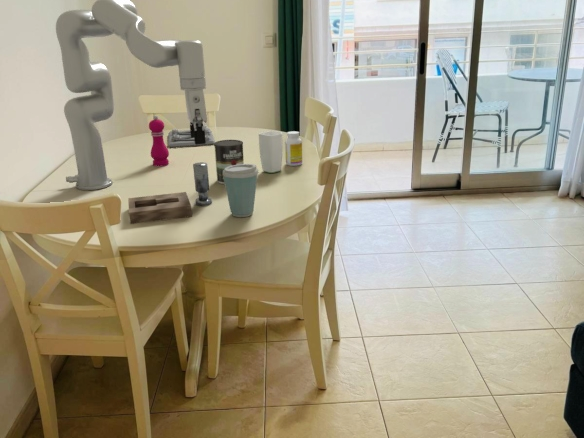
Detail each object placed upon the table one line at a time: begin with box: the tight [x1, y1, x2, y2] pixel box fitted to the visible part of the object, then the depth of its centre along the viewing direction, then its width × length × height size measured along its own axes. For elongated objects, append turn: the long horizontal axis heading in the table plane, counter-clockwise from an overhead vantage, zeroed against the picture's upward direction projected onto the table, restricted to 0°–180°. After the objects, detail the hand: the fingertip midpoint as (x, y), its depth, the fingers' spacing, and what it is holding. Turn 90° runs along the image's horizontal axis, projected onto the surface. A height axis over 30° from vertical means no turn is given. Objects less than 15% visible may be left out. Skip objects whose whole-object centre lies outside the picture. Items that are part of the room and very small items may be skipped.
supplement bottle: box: [284, 130, 303, 167], centre depth 214 cm, size 7×7×13 cm
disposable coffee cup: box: [222, 163, 260, 218], centre depth 161 cm, size 11×11×15 cm
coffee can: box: [213, 139, 245, 185], centre depth 195 cm, size 10×10×14 cm
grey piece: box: [167, 123, 216, 149], centre depth 262 cm, size 30×22×7 cm
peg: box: [192, 162, 213, 207], centre depth 172 cm, size 5×5×13 cm
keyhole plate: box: [128, 191, 193, 225], centre depth 166 cm, size 18×14×4 cm
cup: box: [258, 130, 284, 174], centre depth 204 cm, size 7×7×15 cm
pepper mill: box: [148, 115, 170, 167], centre depth 217 cm, size 7×7×20 cm
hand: (198, 140), depth 167 cm, fingers open, 9 cm apart
